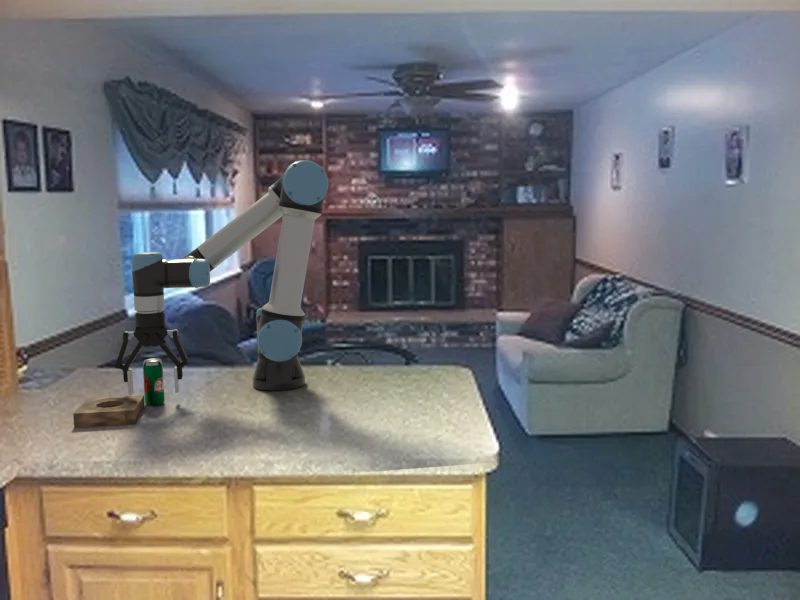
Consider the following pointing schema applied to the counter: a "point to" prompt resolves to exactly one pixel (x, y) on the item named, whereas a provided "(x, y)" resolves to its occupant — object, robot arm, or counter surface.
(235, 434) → the counter surface
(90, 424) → the board
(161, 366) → the soda can
